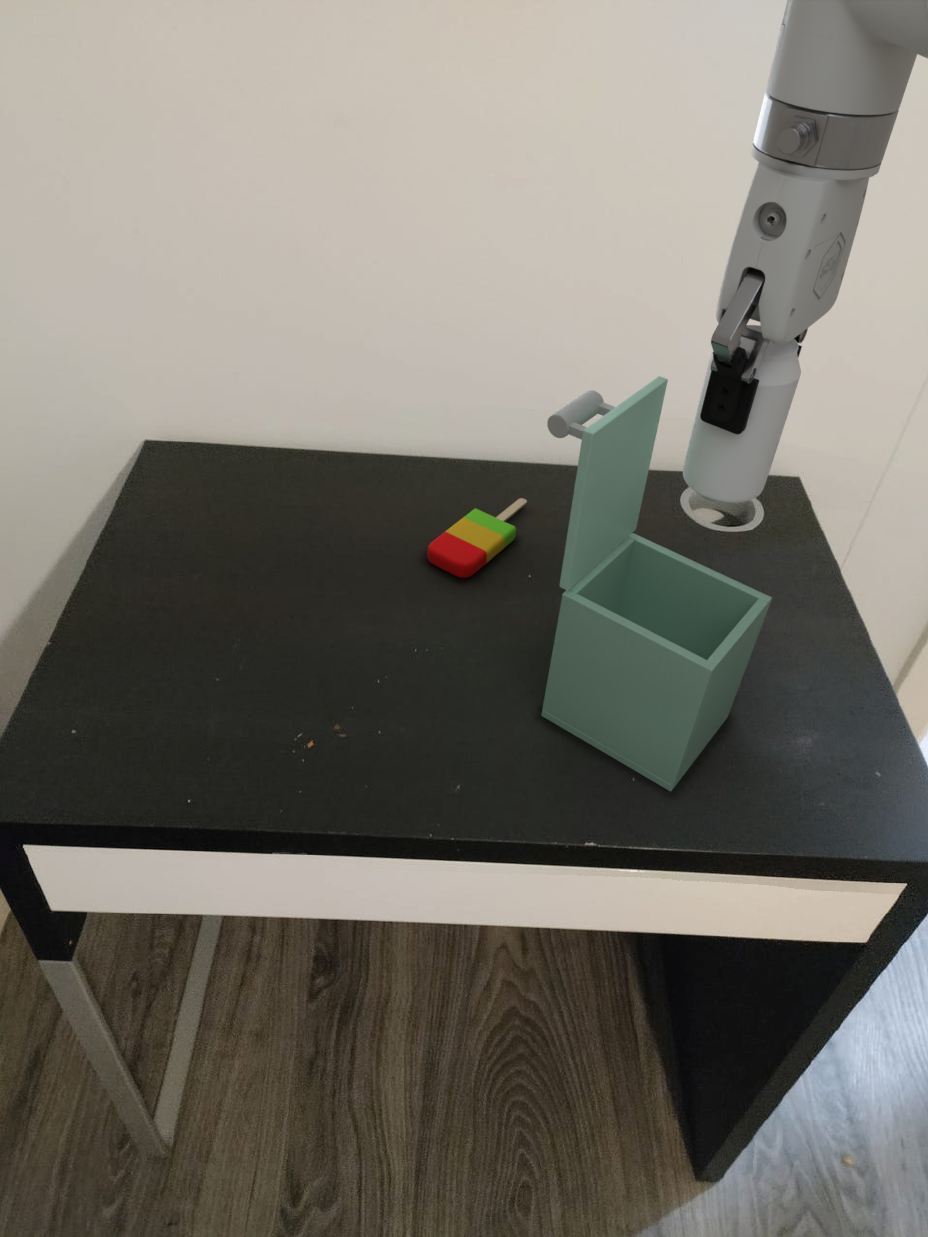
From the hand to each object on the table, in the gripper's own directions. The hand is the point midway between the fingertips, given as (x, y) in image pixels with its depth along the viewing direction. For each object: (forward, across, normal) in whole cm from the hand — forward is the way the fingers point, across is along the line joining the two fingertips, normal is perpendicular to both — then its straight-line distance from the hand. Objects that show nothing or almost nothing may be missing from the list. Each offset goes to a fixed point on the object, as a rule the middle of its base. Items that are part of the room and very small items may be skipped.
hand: (744, 406), depth 67 cm
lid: (+6, -7, +5) cm, 11 cm away
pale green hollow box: (+27, -6, 0) cm, 28 cm away
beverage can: (+7, 0, 0) cm, 7 cm away
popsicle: (+27, +5, +25) cm, 37 cm away
